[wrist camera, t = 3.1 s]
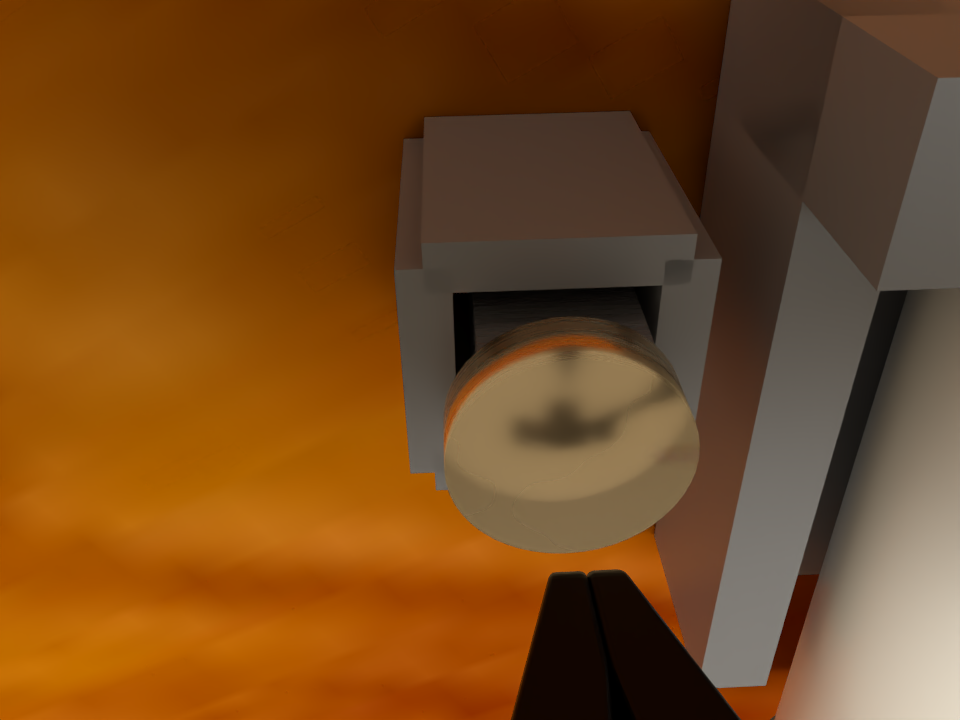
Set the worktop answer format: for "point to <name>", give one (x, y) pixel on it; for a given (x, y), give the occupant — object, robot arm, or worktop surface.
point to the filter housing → (717, 275)
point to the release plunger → (565, 421)
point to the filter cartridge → (894, 545)
